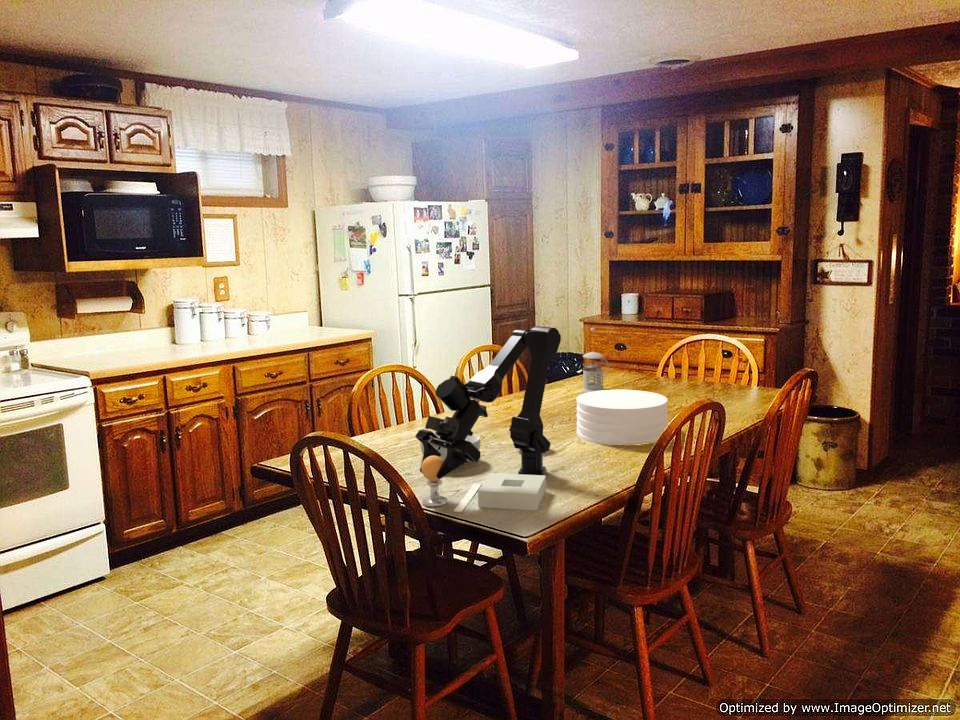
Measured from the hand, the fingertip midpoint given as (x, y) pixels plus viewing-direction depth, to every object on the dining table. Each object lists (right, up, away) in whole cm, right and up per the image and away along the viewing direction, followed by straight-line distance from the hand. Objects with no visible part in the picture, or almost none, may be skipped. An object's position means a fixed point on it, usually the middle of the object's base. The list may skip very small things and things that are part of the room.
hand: (429, 475), depth 191 cm
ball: (+1, +2, +1) cm, 2 cm away
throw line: (+9, -6, +5) cm, 12 cm away
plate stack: (+57, +4, +61) cm, 83 cm away
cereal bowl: (+4, -2, +35) cm, 35 cm away
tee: (+1, -7, +2) cm, 7 cm away
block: (+20, -6, +4) cm, 21 cm away
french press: (+58, +15, +128) cm, 141 cm away
